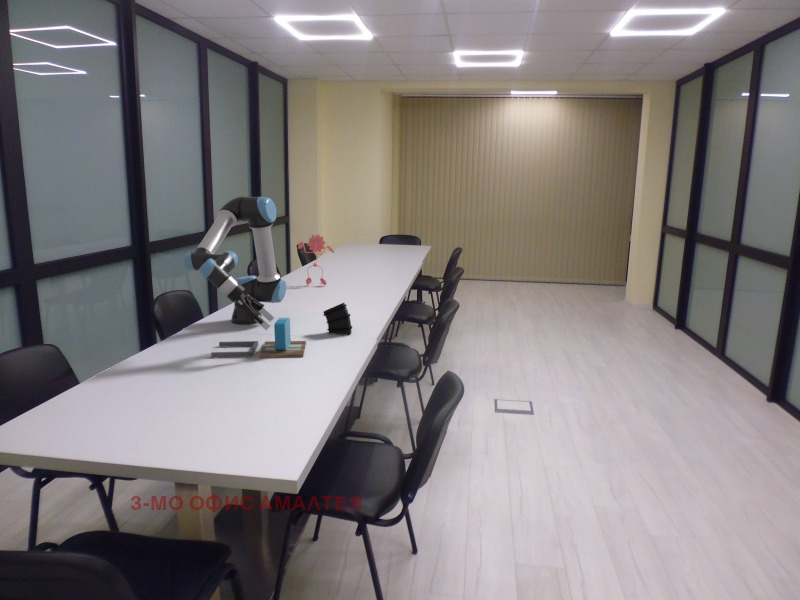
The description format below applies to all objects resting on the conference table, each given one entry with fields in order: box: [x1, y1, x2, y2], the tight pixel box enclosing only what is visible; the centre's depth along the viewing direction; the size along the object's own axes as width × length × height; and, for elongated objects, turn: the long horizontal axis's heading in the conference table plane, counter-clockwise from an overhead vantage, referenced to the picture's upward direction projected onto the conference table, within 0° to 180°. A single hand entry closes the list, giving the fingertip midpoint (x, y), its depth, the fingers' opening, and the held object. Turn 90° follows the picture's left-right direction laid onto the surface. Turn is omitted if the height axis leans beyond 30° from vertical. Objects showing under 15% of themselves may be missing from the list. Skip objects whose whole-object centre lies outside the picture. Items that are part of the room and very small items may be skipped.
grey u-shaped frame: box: [210, 340, 259, 359], centre depth 244 cm, size 16×17×2 cm
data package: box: [273, 317, 292, 350], centre depth 244 cm, size 12×4×12 cm, turn 1°
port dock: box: [258, 340, 307, 359], centre depth 246 cm, size 20×18×1 cm
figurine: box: [297, 234, 335, 287], centre depth 389 cm, size 15×26×35 cm, turn 80°
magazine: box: [323, 302, 353, 336], centre depth 272 cm, size 4×13×15 cm, turn 76°
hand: (270, 323), depth 242 cm, fingers open, 13 cm apart
